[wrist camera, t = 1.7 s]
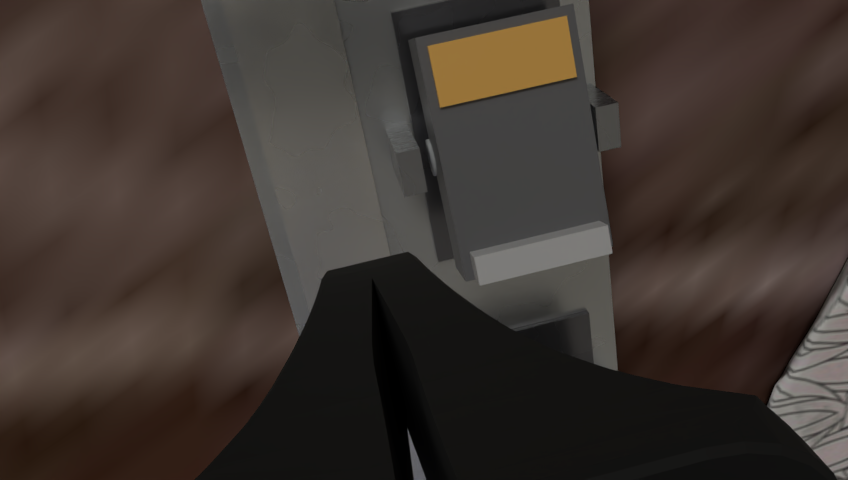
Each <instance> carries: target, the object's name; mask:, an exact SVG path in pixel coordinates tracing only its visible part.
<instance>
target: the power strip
mask: <svg viewBox="0 0 848 480" xmlns="http://www.w3.org/2000/svg"><path fill="white" fill-rule="evenodd" d="M201 2H202V6H203V9H204V12H205V16H206V19H207V23H208V26H209V29H210V33H211V36H212V40H213V43H214V47H215V50H216V53H217V57H218V60H219V64H220V67H221V70H222V74H223V77H224V81H225V84H226V87H227V91H228V94H229V98H230V101H231V104H232V108H233V111H234V115H235V118H236V121H237V125H238V128H239V132H240V135H241V139H242V142H243V145H244V149H245V152H246V156H247V159H248V162H249V166H250V169H251V173H252V176H253V179H254V183H255V186H256V190H257V193H258V196H259V200H260V203H261V207H262V210H263V213H264V217H265V220H266V224H267V227H268V230H269V234H270V237H271V241H272V244H273V248H274V251H275V254H276V258H277V261H278V265H279V268H280V271H281V275H282V278H283V282H284V285H285V288H286V292H287V295H288V299H289V302H290V305H291V309H292V312H293V316H294V319H295V322H296V326H297V329H298V333H299V336H300V335H301V332H302V330H303V328H304V326H305V324H306V322H307V319H308V317H309V315H310V312H311V310H312V307H313V305H314V302H315V299H316V296H317V293H318V290H319V287H320V283H321V279H322V278H323V276H324V275H325V273H326V272H327V271H329V270H333V269H337V268H342V267H346V266H350V265H354V264H358V263H362V262H367V261H371V260H375V259H379V258H383V257H388V256H392V255H396V254H400V253H404V252H409V253H411V254H413V255H414V256H416V257H417V258H418V259H419V260H420V261H421V262H422V263H423V264H424V265H425V266H426V267H427V268H428V269H429V270H430V271H431V272H432V273H434V274H435V275H436V276H437V277H438V278H439V279H441V280H442V281H443V282H444V283H445V284H446V285H448V286H449V287H450V288H452V289H453V290H454V291H455V292H457V293H458V294H459V295H461V296H462V297H463V298H465V299H466V300H468V301H469V302H470V303H472V304H473V305H474V306H476V307H477V308H479V309H480V310H482V311H483V312H485V313H486V314H488V315H489V316H491V317H492V318H494V319H496V320H497V321H499V322H500V323H502V324H504V325H505V326H507V327H509V328H510V329H512V330H514V331H516V332H518V333H520V334H522V335H524V336H526V337H528V338H530V339H533V340H535V341H537V342H539V343H541V344H543V345H545V346H548V347H550V348H552V349H554V350H557V351H560V352H562V353H565V354H567V355H570V356H573V357H575V358H578V359H581V360H584V361H587V362H590V363H593V364H596V365H599V366H602V367H606V368H609V369H612V370H616V371H618V368H617V355H616V342H615V329H614V317H613V304H612V291H611V278H610V266H609V254H608V255H604V256H600V257H595V258H591V259H587V260H583V261H579V262H575V263H571V264H567V265H563V266H559V267H555V268H550V269H546V270H542V271H538V272H534V273H530V274H526V275H522V276H518V277H514V278H510V279H505V280H501V281H497V282H493V283H489V284H485V285H481V286H480V285H479V284H478V283H477V281H476V280H471V281H467V282H466V281H465V280H464V278H463V277H462V276H461V274H460V273H459V271H458V270H457V269H456V265H455V260H454V255H453V251H452V246H451V241H450V236H449V232H448V227H447V222H446V218H445V213H444V208H443V203H442V199H441V194H440V189H439V184H438V180H437V176H433V174H432V171H431V168H430V164H429V160H428V156H427V151H426V143H425V141H426V140H427V139H429V137H428V132H427V128H426V123H425V118H424V113H423V109H422V104H421V99H420V95H419V90H418V85H417V80H416V76H415V71H414V66H413V61H412V57H411V52H410V47H409V42H408V40H410V39H413V38H417V37H421V36H426V35H430V34H435V33H440V32H444V31H449V30H453V29H458V28H463V27H467V26H472V25H476V24H481V23H486V22H490V21H495V20H499V19H504V18H509V17H513V16H518V15H522V14H527V13H532V12H536V11H541V10H545V9H550V8H554V7H559V6H564V5H568V4H574V10H575V16H576V23H577V29H578V35H579V41H580V47H581V53H582V59H583V65H584V71H585V77H586V83H587V90H588V96H589V102H590V108H591V114H592V120H593V126H594V132H595V138H596V144H597V151H598V157H599V163H600V169H601V175H602V164H601V151H605V150H609V149H614V148H618V147H621V137H620V122H619V107H618V102H617V101H615V100H614V99H612V98H611V97H610V96H608V95H607V94H605V93H604V92H603V91H601V90H600V89H598V88H597V87H596V86H595V74H594V62H593V49H592V36H591V23H590V11H589V0H201ZM602 181H603V176H602ZM407 430H408V429H407ZM408 437H409V445H410V453H411V461H412V469H413V477H414V480H426V477H425V475H424V472H423V469H422V467H421V464H420V461H419V458H418V456H417V453H416V450H415V448H414V445H413V442H412V440H411V437H410V434H409V431H408Z"/></svg>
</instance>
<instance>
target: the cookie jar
mask: <svg viewBox="0 0 848 480" xmlns="http://www.w3.org/2000/svg"><path fill="white" fill-rule="evenodd" d="M767 407H769V408H770V409H771V410H772V411H773V412H774V413H775V414H777V415H778V416H779V417H780V418H781V419H782V420H783V421H785V422H786V423H787V424H788V425H789V426H790V427H791V428H792V429H793V430H794V431H795V432H796V433H797V434H798V435H799V436H800V437H801V438H802V439H803V440H804V441H805V442H806V443H807V444H808V445H809V446H810V448H811V449H812V450H813V451H814V452H815V453H816V454H817V455H818V456H819V457H820V459H821V460H822V461H823V462H824V463H825V464H826V465H827V466H828V467H829V468H830V469H831V471H832V472H833V473H834V474H835V476H836V478H837V480H848V259H847V261H846V263H845V265H844V267H843V269H842V271H841V273H840V275H839V276H838V278H837V280H836V282H835V284H834V286H833V288H832V290H831V291H830V293H829V295H828V297H827V299H826V301H825V303H824V305H823V306H822V308H821V310H820V312H819V314H818V316H817V318H816V319H815V321H814V323H813V325H812V326H811V328H810V330H809V331H808V333H807V334H806V336H805V338H804V339H803V341H802V342H801V344H800V345H799V347H798V349H797V350H796V352H795V353H794V355H793V356H792V358H791V360H790V361H789V363H788V365H787V367H786V369H785V371H784V373H783V375H782V376H781V378H780V379H779V380H778V382H777V383H776V385H775V386H774V389H773V391H772V394H771V397H770V399H769V402H768V405H767Z"/></svg>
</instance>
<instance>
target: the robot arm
mask: <svg viewBox="0 0 848 480" xmlns="http://www.w3.org/2000/svg"><path fill="white" fill-rule="evenodd" d="M407 429H408V430H407ZM408 431H409V434H410V437H411V440H412V442H413V445H414V448H415V450H416V453H417V456H418V458H419V461H420V464H421V467H422V469H423V472H424V475H425V477H426V480H837V478H836V476H835V474H834V473H833V472H832V471H831V469H830V468H829V467H828V466H827V465H826V464H825V463H824V462H823V461H822V460H821V459H820V457H819V456H818V455H817V454H816V453H815V452H814V451H813V450H812V449H811V448H810V446H809V445H808V444H807V443H806V442H805V441H804V440H803V439H802V438H801V437H800V436H799V435H798V434H797V433H796V432H795V431H794V430H793V429H792V428H791V427H790V426H789V425H788V424H787V423H786V422H785V421H783V420H782V419H781V418H780V417H779V416H778V415H777V414H775V413H774V412H773V411H772V410H771V409H770V408H769V407H767V406H766V405H765V404H764V403H763V402H762V401H761V400H760V399H759V398H758V397H757V396H755V395H747V394H740V393H732V392H725V391H717V390H710V389H702V388H695V387H688V386H681V385H675V384H670V383H666V382H661V381H657V380H652V379H648V378H643V377H639V376H634V375H630V374H627V373H623V372H619V371H616V370H612V369H609V368H605V367H602V366H599V365H596V364H593V363H590V362H587V361H584V360H581V359H578V358H575V357H573V356H570V355H567V354H565V353H562V352H560V351H557V350H554V349H552V348H550V347H548V346H545V345H543V344H541V343H539V342H537V341H535V340H533V339H530V338H528V337H526V336H524V335H522V334H520V333H518V332H516V331H514V330H512V329H510V328H509V327H507V326H505V325H504V324H502V323H500V322H499V321H497V320H496V319H494V318H492V317H491V316H489V315H488V314H486V313H485V312H483V311H482V310H480V309H479V308H477V307H476V306H474V305H473V304H472V303H470V302H469V301H468V300H466V299H465V298H463V297H462V296H461V295H459V294H458V293H457V292H455V291H454V290H453V289H452V288H450V287H449V286H448V285H446V284H445V283H444V282H443V281H442V280H441V279H439V278H438V277H437V276H436V275H435V274H434V273H432V272H431V271H430V270H429V269H428V268H427V267H426V266H425V265H424V264H423V263H422V262H421V261H420V260H419V259H418V258H417V257H416V256H414V255H413V254H411V253H409V252H404V253H400V254H396V255H392V256H388V257H383V258H379V259H375V260H371V261H367V262H362V263H358V264H354V265H350V266H346V267H342V268H337V269H333V270H329V271H327V272H326V273H325V275H324V276H323V278H322V279H321V283H320V287H319V290H318V293H317V296H316V299H315V302H314V305H313V307H312V310H311V312H310V315H309V317H308V319H307V322H306V324H305V326H304V328H303V330H302V332H301V335H300V337H299V339H298V341H297V343H296V345H295V347H294V349H293V351H292V353H291V355H290V357H289V358H288V360H287V362H286V364H285V365H284V367H283V369H282V371H281V372H280V374H279V376H278V378H277V380H276V381H275V383H274V385H273V386H272V388H271V389H270V391H269V392H268V394H267V395H266V397H265V399H264V400H263V401H262V403H261V404H260V406H259V407H258V409H257V410H256V411H255V413H254V414H253V415H252V417H251V418H250V420H249V421H248V422H247V423H246V425H245V426H244V427H243V428H242V430H241V431H240V432H239V433H238V434H237V435H236V436H235V437H234V438H233V439H232V441H231V442H230V443H229V444H228V445H227V446H226V447H225V448H224V449H223V450H222V452H221V453H220V454H219V455H218V456H217V457H216V458H215V459H214V460H213V461H212V463H211V464H210V465H209V466H208V467H207V468H206V469H205V470H204V471H203V472H202V473H201V474H200V475H199V476H198V477H197V478H196V479H195V480H414V477H413V469H412V461H411V453H410V445H409V437H408Z"/></svg>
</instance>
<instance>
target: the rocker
mask: <svg viewBox="0 0 848 480" xmlns="http://www.w3.org/2000/svg"><path fill="white" fill-rule="evenodd" d="M408 42H409V47H410V52H411V57H412V61H413V66H414V71H415V76H416V80H417V85H418V90H419V95H420V99H421V104H422V109H423V113H424V118H425V123H426V128H427V132H428V137H429V139H427V140H426V141H425V143H426V151H427V156H428V160H429V164H430V168H431V171H432V174H433V176H437V180H438V184H439V189H440V194H441V199H442V203H443V208H444V213H445V218H446V222H447V227H448V232H449V236H450V241H451V246H452V251H453V255H454V260H455V265H456V269H457V270H458V271H459V273H460V274H461V276H462V277H463V278H464V280H465V281H466V282H467V281H471V280H476V281H477V283H478V284H479V285H480V286H481V285H485V284H489V283H493V282H497V281H501V280H505V279H510V278H514V277H518V276H522V275H526V274H530V273H534V272H538V271H542V270H546V269H550V268H555V267H559V266H563V265H567V264H571V263H575V262H579V261H583V260H587V259H591V258H595V257H600V256H604V255H608V254H612V247H611V246H613V242H612V236H611V230H610V224H609V218H608V211H607V205H606V199H605V193H604V187H603V181H602V175H601V169H600V163H599V157H598V151H597V144H596V138H595V132H594V126H593V120H592V114H591V108H590V102H589V96H588V90H587V83H586V77H585V71H584V65H583V59H582V53H581V47H580V41H579V35H578V29H577V23H576V16H575V10H574V4H568V5H564V6H559V7H554V8H550V9H545V10H541V11H536V12H532V13H527V14H522V15H518V16H513V17H509V18H504V19H499V20H495V21H490V22H486V23H481V24H476V25H472V26H467V27H463V28H458V29H453V30H449V31H444V32H440V33H435V34H430V35H426V36H421V37H417V38H413V39H410V40H408Z"/></svg>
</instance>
